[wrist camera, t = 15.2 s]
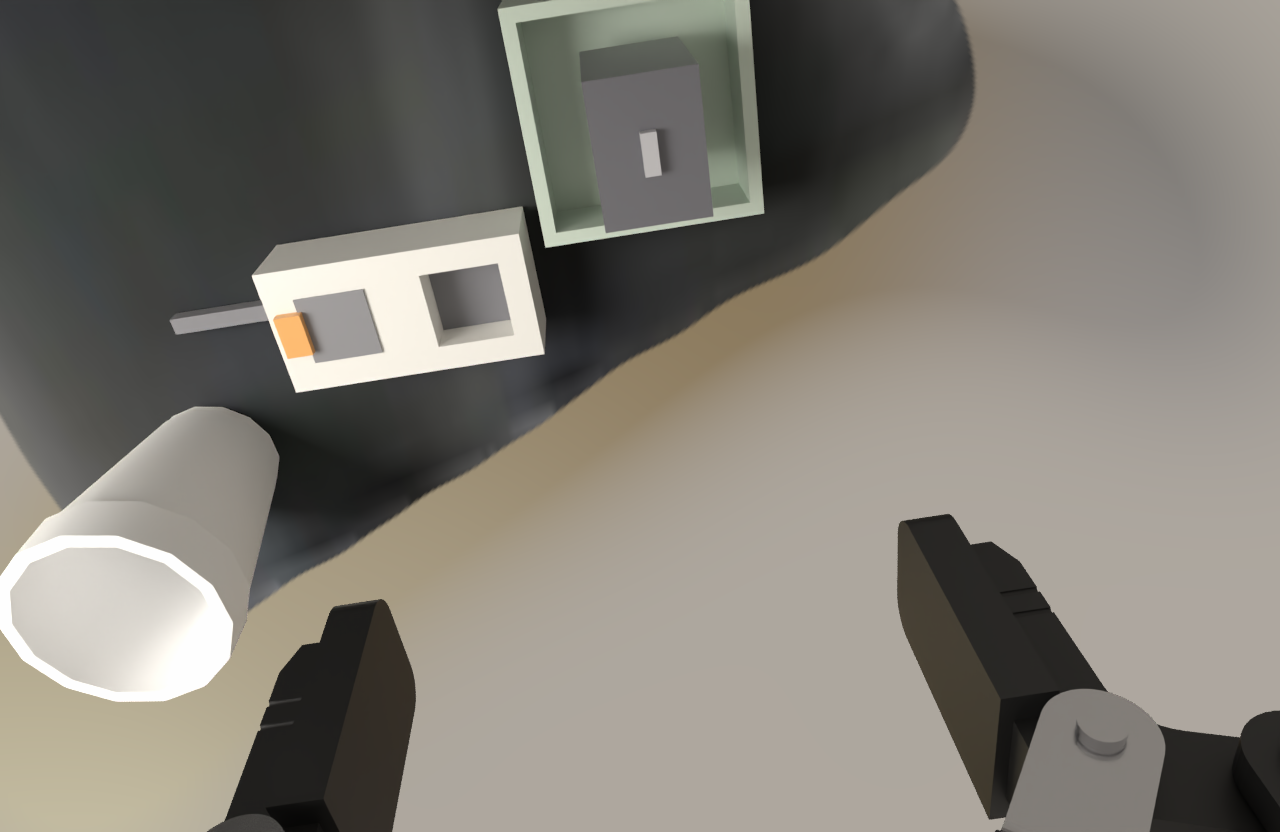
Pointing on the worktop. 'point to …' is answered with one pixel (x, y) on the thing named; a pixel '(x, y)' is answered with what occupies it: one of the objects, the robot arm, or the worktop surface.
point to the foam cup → (148, 563)
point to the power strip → (395, 300)
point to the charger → (647, 133)
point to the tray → (556, 116)
